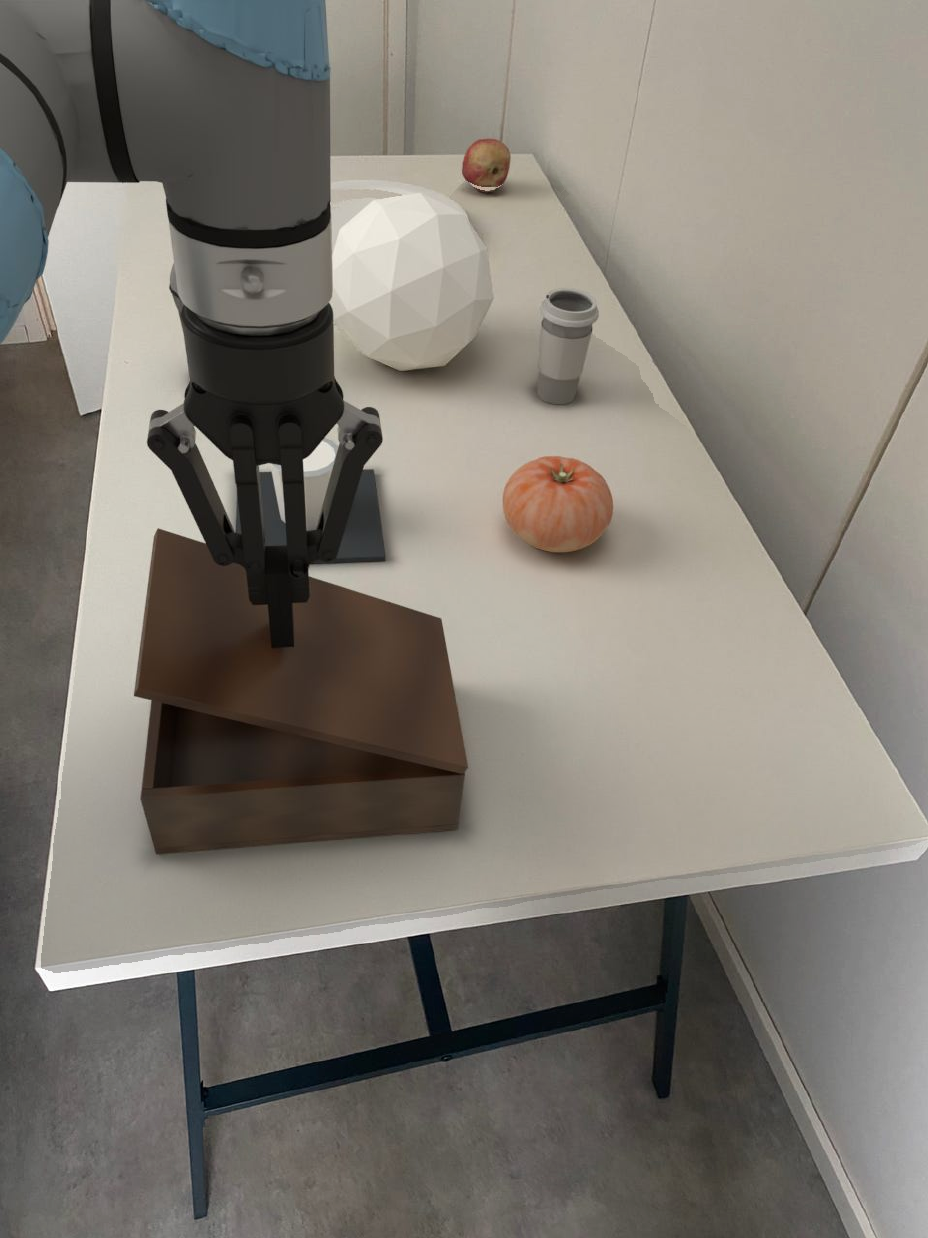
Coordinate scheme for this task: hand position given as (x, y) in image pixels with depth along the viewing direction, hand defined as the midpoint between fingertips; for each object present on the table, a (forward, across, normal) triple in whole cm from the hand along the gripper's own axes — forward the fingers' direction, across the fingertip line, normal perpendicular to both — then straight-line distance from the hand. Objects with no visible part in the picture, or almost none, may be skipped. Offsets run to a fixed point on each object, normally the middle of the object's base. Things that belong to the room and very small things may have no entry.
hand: (282, 632), depth 65 cm
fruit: (+14, +33, +114) cm, 120 cm away
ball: (+14, +15, +61) cm, 64 cm away
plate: (+14, +14, +98) cm, 100 cm away
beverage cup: (+15, -8, +56) cm, 58 cm away
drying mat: (+14, +2, +30) cm, 33 cm away
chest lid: (+2, +2, 0) cm, 3 cm away
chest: (+14, +1, 0) cm, 14 cm away
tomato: (+14, +26, +26) cm, 40 cm away
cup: (+14, +32, +52) cm, 63 cm away
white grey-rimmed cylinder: (+14, +2, +30) cm, 33 cm away
